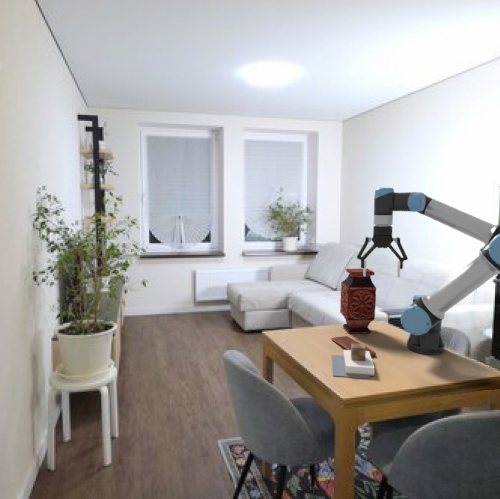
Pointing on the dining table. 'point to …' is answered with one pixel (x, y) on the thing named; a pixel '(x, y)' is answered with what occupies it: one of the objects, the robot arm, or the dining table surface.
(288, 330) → the dining table surface
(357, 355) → the walnut block
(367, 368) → the tile
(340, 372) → the felt mat
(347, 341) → the wooden tablet
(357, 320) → the vase
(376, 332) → the dining table surface
